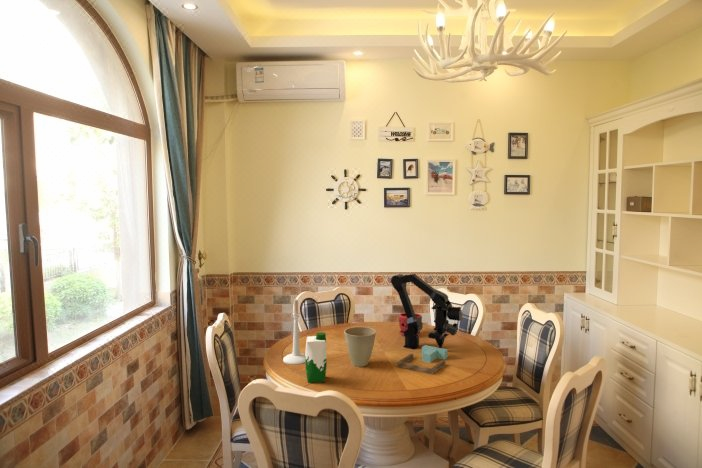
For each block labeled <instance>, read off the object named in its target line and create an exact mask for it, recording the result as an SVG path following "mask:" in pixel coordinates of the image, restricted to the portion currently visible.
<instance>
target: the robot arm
mask: <svg viewBox="0 0 702 468" xmlns="http://www.w3.org/2000/svg"><path fill="white" fill-rule="evenodd" d="M390 283H391V285H392V287H393V288H394V290H395V291H396V292H397V294H398V297H399V299H400V302H401V305H402V307H403V310H404V311H403V312H404V313H405V314H406V316H407V327H408V329H407V330H406V331H405V332H404V336H403V337H404V345H403V348H406V349H407V348H408V349H413V350H415V349H417V348H418V347H420V338H419V335H420V334H419V332H420V333H421V331H422V330H423V324H424V323H423V322H422V321H423V320H422V321H421V318H420V317H419V318H418V317H417V316H416V315H415V313H416V312H415V309H414V308H413V305H412V302H411V299H410V296H409V293H408V290H407V284H408V283H411V284H412V285H414V286H416V287H417V288H418V289H419V290H421V291H422V292H423V293H425V294H426V295H427V296H428V297H429V298H430V300H431V301H432V302H433V303H434V304H433V306H432V307H431V310H435V319H434V320H433V323H434V325H435V326H434V328H433V330H432V331H430V332H429V333H428V334H427V337H428V339H433V340H435V341H436V345H437V346H438V348H443V345H444V342H445V339H446V337H448V336H449V335H451V336H455V335H457V333H458V331H459V325H458V323H456V322H454V323H453V324H452V323H450V322H449V320H451V321H459V322H462V320H463V311H462V307H461V306H453V304H452V303H451V301H450V300H449V296H448V294H446V293H444V292H443V291H441V290H438V289H435V288H434V287H433V286H432V285H430V284H429V283H427V282H426V281H425V280H423V279H422V278H420V277H419V276H418V275H417V274H416V273H411V274H410V273H409V274H402V273H398V274H396V275H393V276H392V277H391V279H390ZM417 334H419V335H417Z"/></svg>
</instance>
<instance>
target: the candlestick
mask: <svg viewBox="0 0 702 468" xmlns="http://www.w3.org/2000/svg"><path fill="white" fill-rule="evenodd" d="M292 315H293V319H294V320H293V337H292V352H291V353H289V354H287V355H285V356H284V357H283V358H282V362H283V363H284V364H287V365H297V366H298V365H304V364H306V363H305V353H303V352H301V349H300V348H301V347H300V331H299V317H300V316H299V315H300V312H299V300H298V299H293V312H292Z"/></svg>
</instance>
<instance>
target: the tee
mask: <svg viewBox="0 0 702 468" xmlns="http://www.w3.org/2000/svg"><path fill="white" fill-rule="evenodd" d="M421 356H422V358H421V360H422V362H424V363H428V364H429V363H432V362H434V361H435V360H436V359H440V360H445V361H446V359H447V358H448V349H447V348H443V347H442V348H439V346H438V347H436V346H431V345H427V344H425V345H423V346H421Z"/></svg>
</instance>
